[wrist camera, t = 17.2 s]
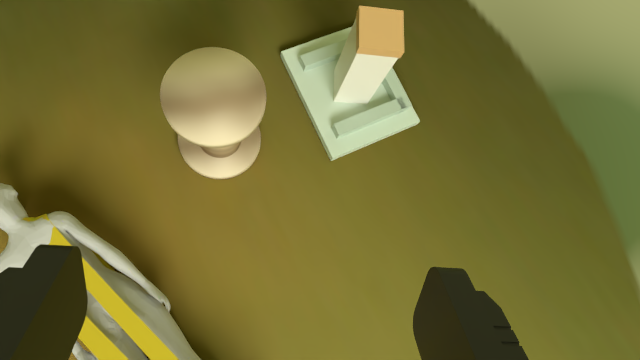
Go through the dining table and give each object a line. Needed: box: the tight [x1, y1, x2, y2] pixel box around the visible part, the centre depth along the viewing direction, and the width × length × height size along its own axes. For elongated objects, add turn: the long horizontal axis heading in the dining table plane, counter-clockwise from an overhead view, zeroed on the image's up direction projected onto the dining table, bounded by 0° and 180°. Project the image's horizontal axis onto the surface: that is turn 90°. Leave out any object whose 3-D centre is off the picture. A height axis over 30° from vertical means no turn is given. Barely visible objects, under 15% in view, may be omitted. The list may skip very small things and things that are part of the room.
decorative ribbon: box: [0, 183, 201, 360], centre depth 38 cm, size 8×6×30 cm
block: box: [334, 6, 404, 104], centre depth 42 cm, size 4×4×11 cm
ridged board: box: [280, 27, 420, 161], centre depth 48 cm, size 12×10×2 cm
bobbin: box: [160, 47, 266, 179], centre depth 40 cm, size 8×8×11 cm
